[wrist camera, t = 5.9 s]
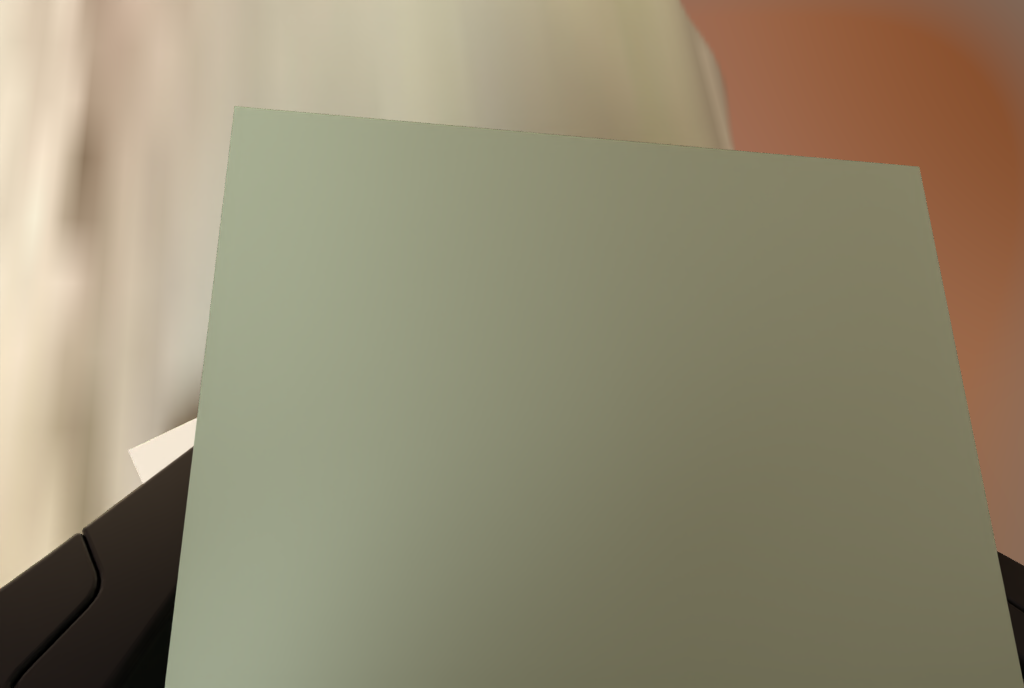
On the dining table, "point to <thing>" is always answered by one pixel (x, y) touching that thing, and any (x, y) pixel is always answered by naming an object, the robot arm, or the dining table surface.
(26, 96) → the dining table surface
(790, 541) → the sage block
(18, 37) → the dining table surface
